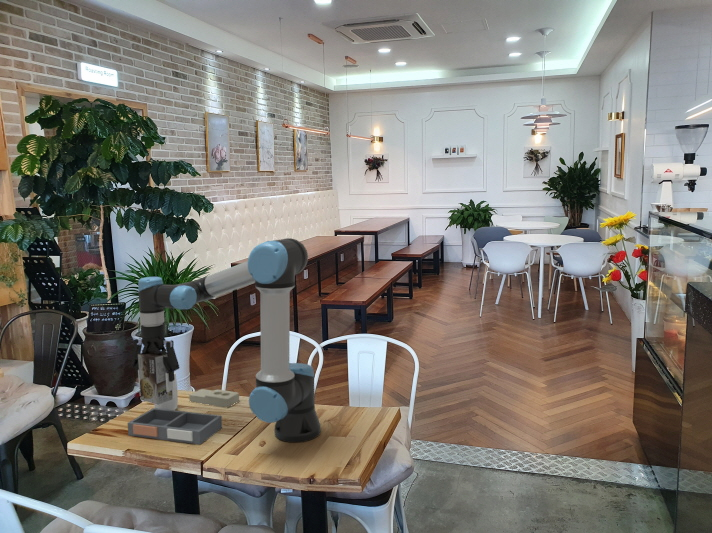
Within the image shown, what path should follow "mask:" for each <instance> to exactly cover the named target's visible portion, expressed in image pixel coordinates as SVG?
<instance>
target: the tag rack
mask: <svg viewBox="0 0 712 533" xmlns="http://www.w3.org/2000/svg"><path fill="white" fill-rule="evenodd" d="M222 420H223V418H222V415H221V414H220V415H219V414H212V413H211V414H210V413H202V412H192V411H184V410H182V411H181V410H177V409H175V410H167V409H158V408H155V407H153V408H151V409H149V410H147V411H146V412H144V413H142V414H140V415H139V416H137V417H135V418H134V419H132V420H130V421H129V422H127V435H128V436H129V437H139V438H144V439H145V438H147V439H155V440H161V441H169V442H176V443H183V444H191V445H202V444H203V443H204V442H205V441H207V440H209V439H210V438H211V437H212V436H213V435H215V434H217V432H218V431H220V430H221V429H222V428H223V425H222V424H223V421H222Z"/></svg>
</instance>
